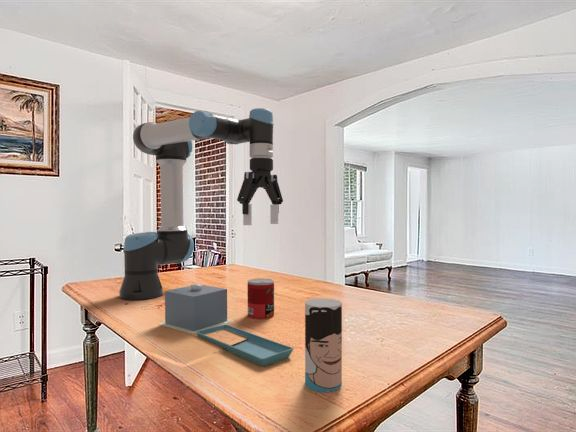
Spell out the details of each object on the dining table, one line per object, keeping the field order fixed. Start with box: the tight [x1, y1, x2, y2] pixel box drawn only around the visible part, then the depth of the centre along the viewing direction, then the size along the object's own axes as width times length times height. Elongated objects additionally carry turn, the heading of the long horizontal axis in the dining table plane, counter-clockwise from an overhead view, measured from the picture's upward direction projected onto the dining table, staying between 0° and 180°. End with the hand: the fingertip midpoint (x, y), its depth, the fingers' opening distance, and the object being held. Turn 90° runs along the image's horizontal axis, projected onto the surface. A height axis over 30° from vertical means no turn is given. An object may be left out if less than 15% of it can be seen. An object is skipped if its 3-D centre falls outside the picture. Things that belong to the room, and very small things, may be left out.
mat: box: [157, 318, 236, 335], centre depth 109 cm, size 15×15×1 cm
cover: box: [164, 283, 228, 331], centre depth 109 cm, size 12×12×10 cm
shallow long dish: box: [195, 324, 294, 367], centre depth 91 cm, size 26×9×2 cm, turn 43°
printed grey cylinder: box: [304, 297, 343, 393], centre depth 72 cm, size 7×7×15 cm
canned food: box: [246, 277, 275, 320], centre depth 116 cm, size 8×8×11 cm
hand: (261, 224), depth 125 cm, fingers open, 13 cm apart
